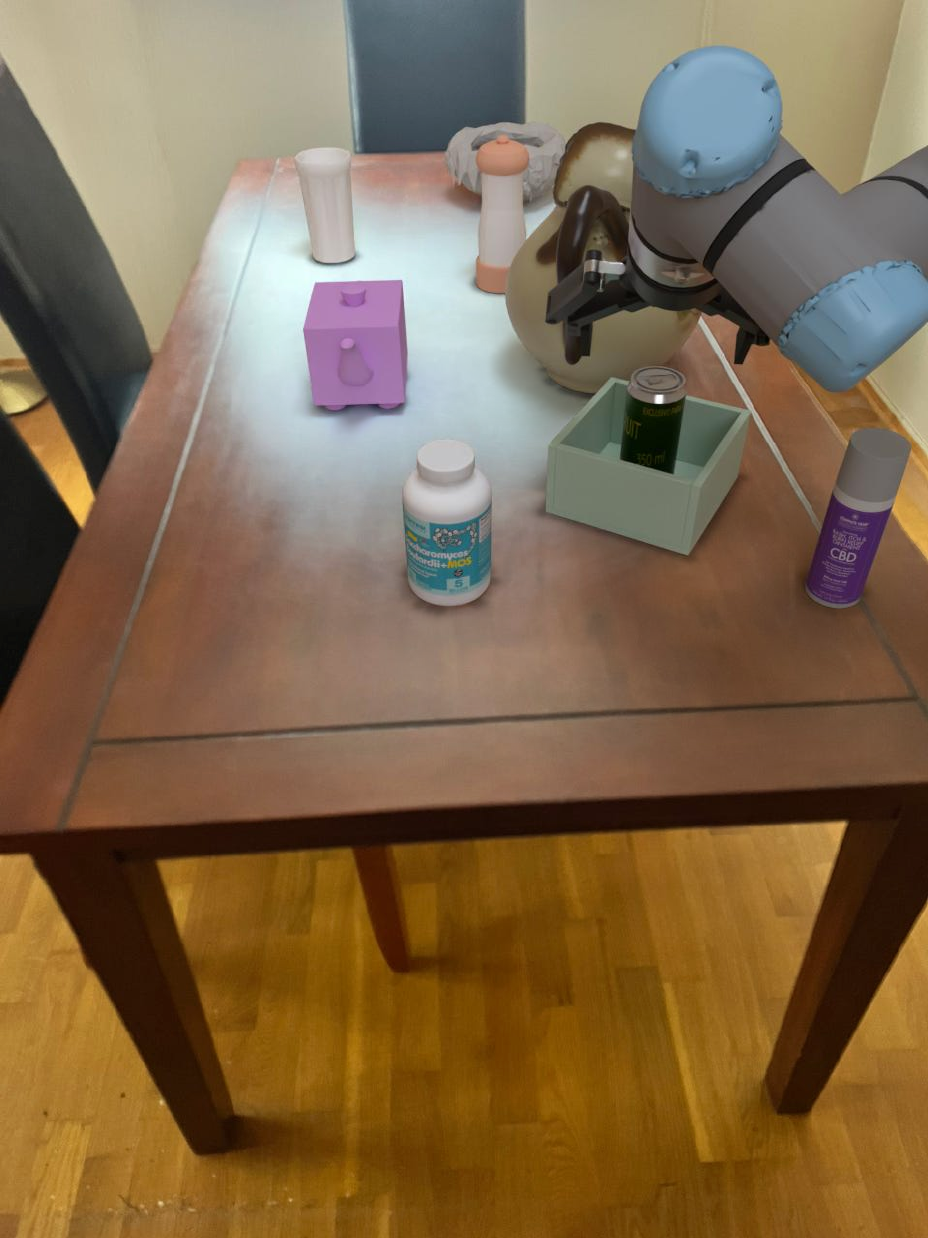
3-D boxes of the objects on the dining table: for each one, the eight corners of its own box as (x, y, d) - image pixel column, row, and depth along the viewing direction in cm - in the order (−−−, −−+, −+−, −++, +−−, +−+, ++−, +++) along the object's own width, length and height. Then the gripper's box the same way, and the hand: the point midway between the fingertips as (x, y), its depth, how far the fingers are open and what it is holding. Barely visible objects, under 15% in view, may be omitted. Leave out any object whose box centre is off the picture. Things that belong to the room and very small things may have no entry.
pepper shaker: (524, 295, 128) (527, 144, 115) (472, 292, 129) (469, 143, 116) (530, 274, 133) (534, 128, 120) (480, 271, 134) (479, 126, 121)
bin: (737, 476, 94) (751, 410, 89) (688, 556, 85) (700, 487, 80) (605, 441, 100) (611, 376, 95) (545, 511, 91) (548, 444, 85)
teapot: (328, 358, 115) (314, 257, 107) (409, 355, 115) (402, 255, 107) (310, 444, 101) (293, 335, 92) (403, 441, 101) (395, 332, 92)
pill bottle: (396, 600, 81) (383, 470, 72) (425, 550, 86) (417, 423, 77) (476, 618, 79) (474, 486, 70) (502, 565, 85) (503, 437, 75)
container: (811, 608, 79) (857, 459, 69) (799, 573, 83) (841, 426, 73) (867, 609, 79) (921, 459, 69) (852, 573, 83) (902, 426, 72)
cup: (340, 271, 135) (328, 167, 126) (296, 262, 139) (281, 159, 129) (371, 252, 141) (362, 151, 131) (328, 243, 144) (316, 143, 134)
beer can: (658, 470, 94) (673, 361, 86) (680, 499, 90) (698, 388, 82) (608, 478, 93) (619, 369, 85) (628, 508, 90) (641, 397, 81)
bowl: (593, 201, 155) (598, 136, 148) (491, 227, 147) (490, 160, 140) (522, 170, 168) (523, 108, 161) (425, 192, 160) (422, 129, 153)
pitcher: (639, 318, 122) (662, 106, 105) (733, 402, 105) (779, 168, 88) (479, 346, 117) (476, 129, 100) (551, 440, 100) (562, 199, 83)
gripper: (497, 284, 65) (521, 378, 86) (871, 300, 61) (801, 394, 82) (507, 179, 65) (529, 298, 86) (880, 189, 61) (808, 311, 82)
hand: (662, 345), depth 84 cm, fingers open, 13 cm apart
